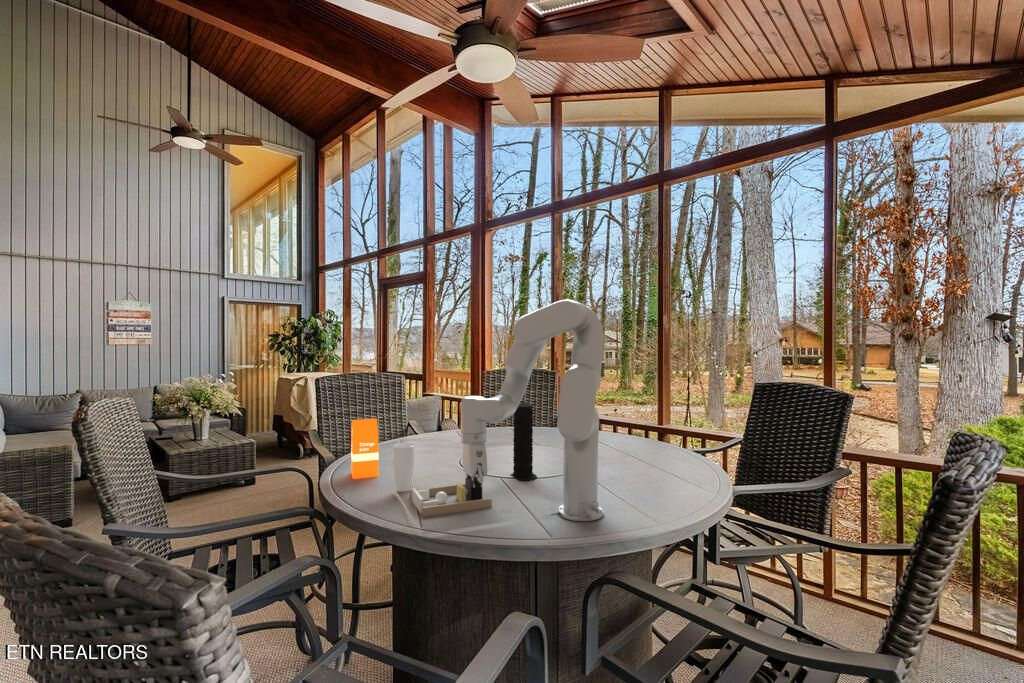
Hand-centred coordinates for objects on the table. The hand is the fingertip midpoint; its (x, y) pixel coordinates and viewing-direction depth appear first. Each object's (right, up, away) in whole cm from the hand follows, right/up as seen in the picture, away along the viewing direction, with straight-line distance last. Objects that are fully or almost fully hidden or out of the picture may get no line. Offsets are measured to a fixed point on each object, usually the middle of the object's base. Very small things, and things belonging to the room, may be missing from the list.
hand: (473, 497), depth 152 cm
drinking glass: (-23, -1, +10) cm, 25 cm away
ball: (-8, 0, -3) cm, 8 cm away
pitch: (-7, -2, -3) cm, 8 cm away
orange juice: (-41, -1, +29) cm, 51 cm away
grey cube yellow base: (-1, -1, 0) cm, 1 cm away
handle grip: (+15, -1, +26) cm, 30 cm away
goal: (-14, -2, -6) cm, 15 cm away
